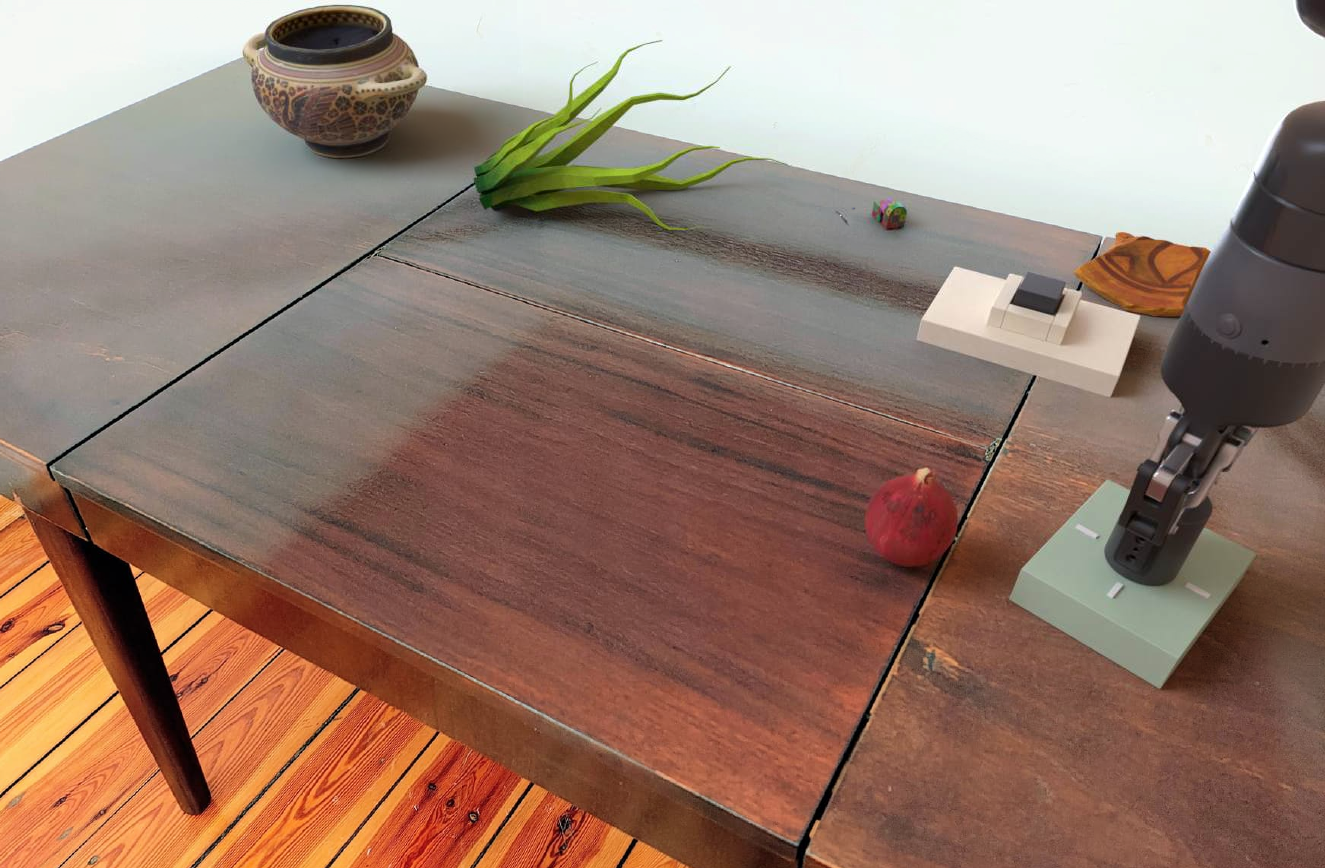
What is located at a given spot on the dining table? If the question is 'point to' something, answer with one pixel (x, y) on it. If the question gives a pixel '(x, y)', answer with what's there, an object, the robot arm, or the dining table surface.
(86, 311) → the dining table surface
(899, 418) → the dining table surface
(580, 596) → the dining table surface
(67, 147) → the dining table surface
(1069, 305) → the stepped cream pedestal
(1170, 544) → the volume knob
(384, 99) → the ceramic bowl
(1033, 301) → the dark grey square block
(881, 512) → the pomegranate
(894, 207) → the multicoloured toy piece
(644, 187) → the decorative plant
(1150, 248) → the pottery fragment
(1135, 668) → the panel
